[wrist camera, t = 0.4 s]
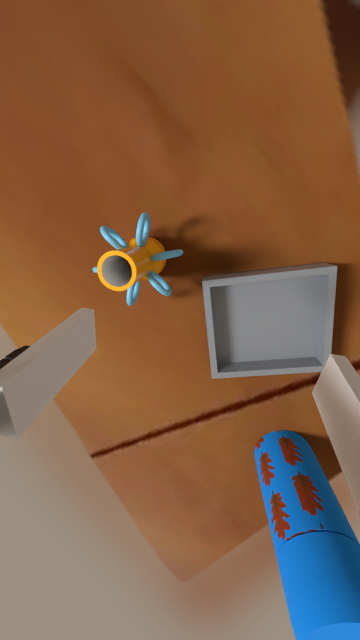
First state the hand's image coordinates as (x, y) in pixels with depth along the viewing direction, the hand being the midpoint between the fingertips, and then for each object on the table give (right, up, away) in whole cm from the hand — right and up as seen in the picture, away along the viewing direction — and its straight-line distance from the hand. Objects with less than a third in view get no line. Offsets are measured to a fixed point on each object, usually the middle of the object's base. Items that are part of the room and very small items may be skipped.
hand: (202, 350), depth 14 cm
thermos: (+19, -24, +35) cm, 47 cm away
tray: (+12, +2, +27) cm, 29 cm away
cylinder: (-6, +12, +25) cm, 28 cm away
